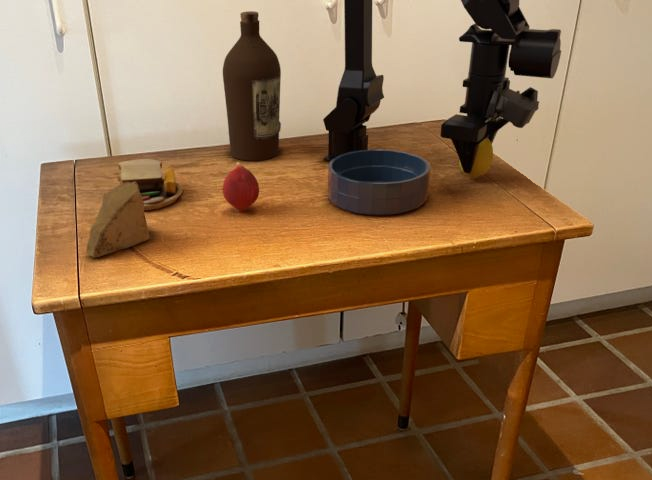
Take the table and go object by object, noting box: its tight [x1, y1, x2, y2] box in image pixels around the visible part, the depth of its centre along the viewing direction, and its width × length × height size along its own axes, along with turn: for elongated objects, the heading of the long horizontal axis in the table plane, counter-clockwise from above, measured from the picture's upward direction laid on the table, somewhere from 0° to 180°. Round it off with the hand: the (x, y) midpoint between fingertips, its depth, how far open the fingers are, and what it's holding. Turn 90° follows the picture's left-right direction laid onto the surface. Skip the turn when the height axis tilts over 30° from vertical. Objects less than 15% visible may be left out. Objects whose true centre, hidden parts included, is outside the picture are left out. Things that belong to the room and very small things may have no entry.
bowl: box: [327, 148, 431, 216], centre depth 120 cm, size 16×16×6 cm
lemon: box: [458, 138, 494, 180], centre depth 125 cm, size 6×6×8 cm
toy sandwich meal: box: [112, 158, 183, 211], centre depth 124 cm, size 12×14×5 cm
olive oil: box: [222, 10, 282, 162], centre depth 136 cm, size 11×11×25 cm
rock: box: [86, 181, 150, 259], centre depth 108 cm, size 11×9×10 cm
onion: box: [222, 161, 260, 212], centre depth 117 cm, size 6×6×8 cm
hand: (474, 167), depth 126 cm, fingers open, 6 cm apart
